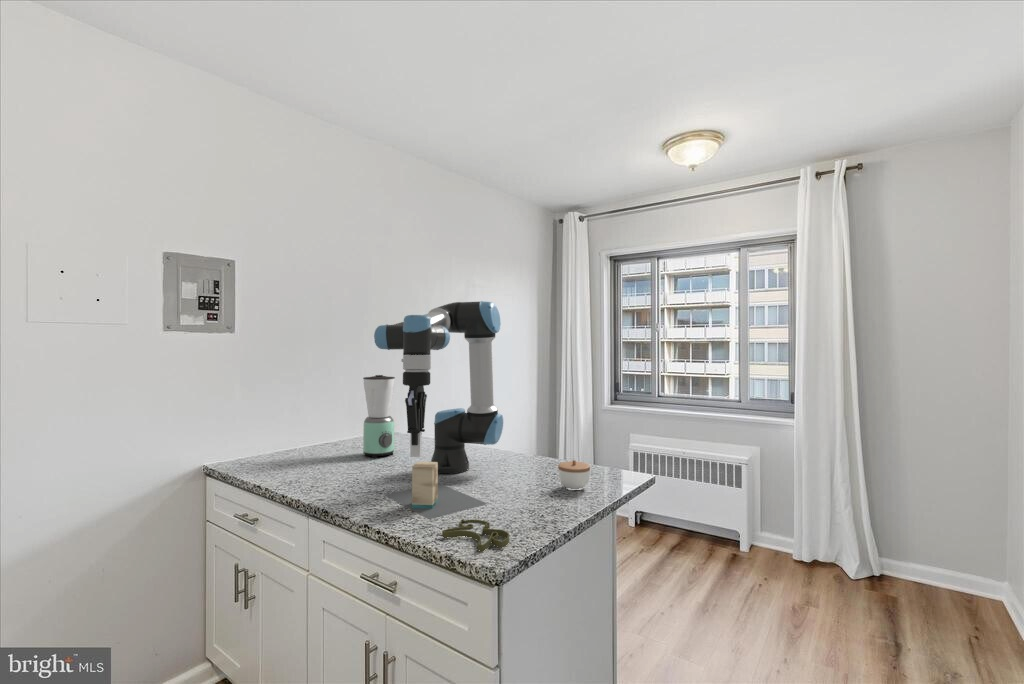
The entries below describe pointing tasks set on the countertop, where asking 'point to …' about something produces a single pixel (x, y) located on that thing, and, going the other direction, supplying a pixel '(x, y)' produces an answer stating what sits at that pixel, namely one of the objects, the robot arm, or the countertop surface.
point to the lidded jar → (574, 474)
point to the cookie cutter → (492, 532)
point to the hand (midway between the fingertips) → (415, 456)
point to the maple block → (424, 485)
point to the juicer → (378, 416)
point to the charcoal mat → (439, 502)
